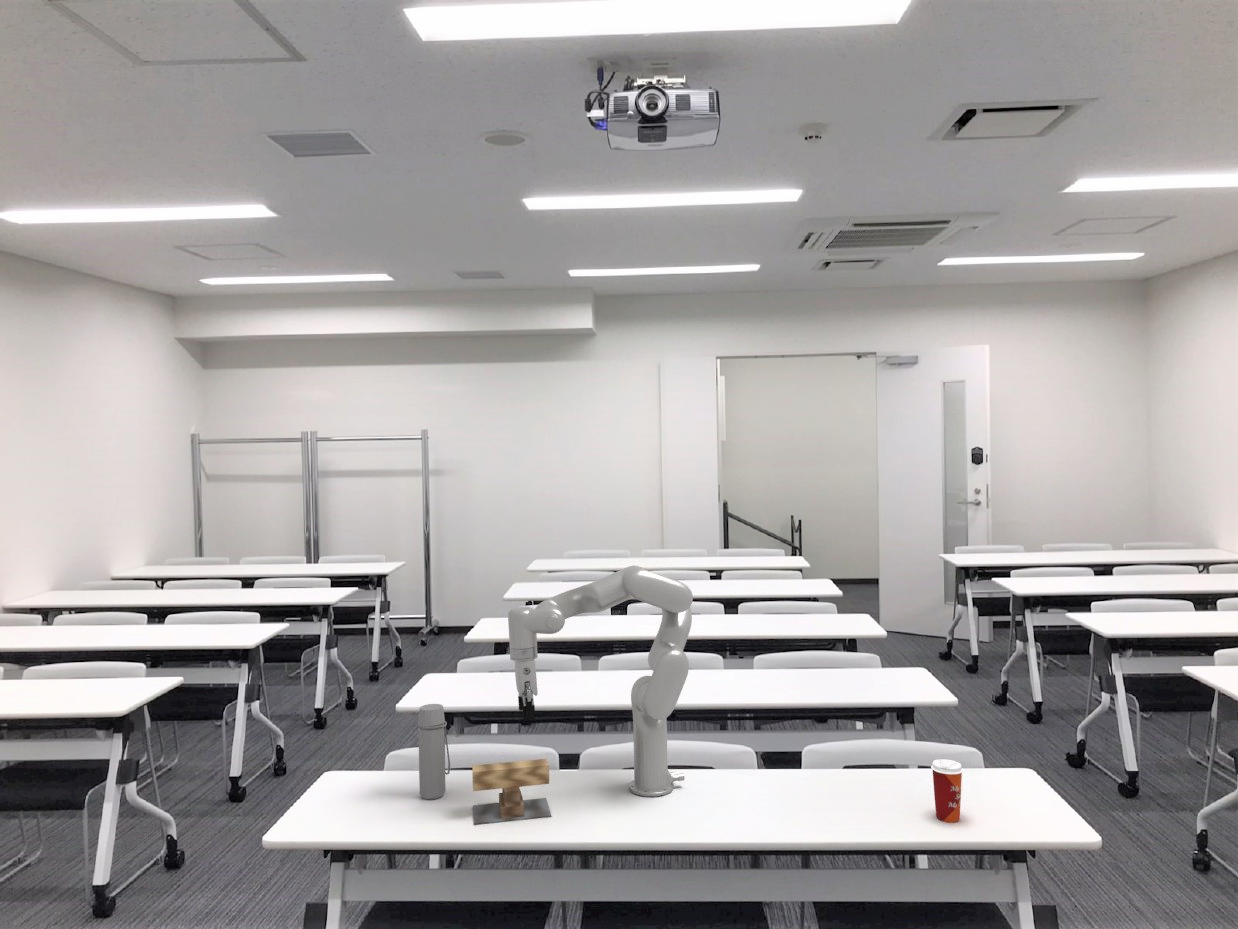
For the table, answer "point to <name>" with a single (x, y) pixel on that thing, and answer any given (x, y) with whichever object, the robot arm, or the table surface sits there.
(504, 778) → the oak bar
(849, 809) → the table surface
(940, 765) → the paper cup
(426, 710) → the water bottle
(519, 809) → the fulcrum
